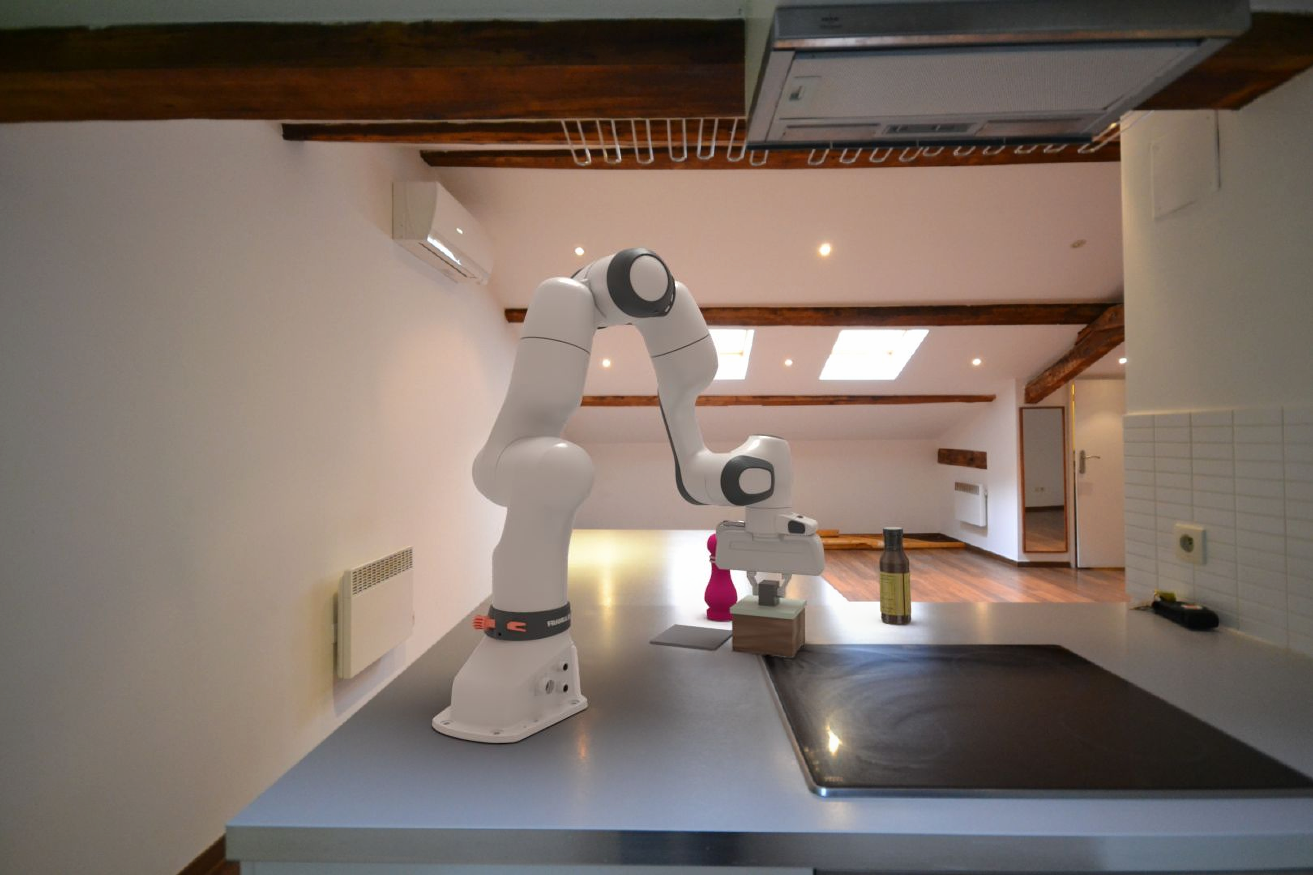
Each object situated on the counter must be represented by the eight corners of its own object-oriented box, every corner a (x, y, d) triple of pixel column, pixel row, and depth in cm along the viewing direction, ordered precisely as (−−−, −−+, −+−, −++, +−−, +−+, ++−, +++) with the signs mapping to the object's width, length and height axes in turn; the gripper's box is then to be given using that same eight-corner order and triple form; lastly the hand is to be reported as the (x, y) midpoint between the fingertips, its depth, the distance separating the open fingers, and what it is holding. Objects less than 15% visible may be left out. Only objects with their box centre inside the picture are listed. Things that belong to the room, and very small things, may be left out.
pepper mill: (699, 615, 155) (699, 524, 155) (729, 612, 157) (729, 523, 157) (711, 623, 148) (711, 528, 148) (743, 620, 150) (742, 526, 150)
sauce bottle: (900, 617, 152) (899, 525, 152) (917, 624, 146) (916, 528, 146) (873, 618, 151) (873, 526, 151) (889, 626, 145) (889, 529, 145)
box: (792, 658, 123) (792, 618, 124) (732, 651, 128) (732, 612, 128) (805, 642, 134) (804, 605, 134) (748, 635, 138) (748, 600, 138)
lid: (793, 624, 123) (793, 590, 123) (729, 618, 128) (729, 585, 128) (806, 610, 134) (806, 578, 134) (747, 604, 138) (747, 574, 138)
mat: (714, 651, 128) (714, 648, 128) (649, 643, 133) (649, 640, 133) (735, 633, 140) (735, 630, 140) (675, 626, 145) (675, 624, 145)
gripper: (710, 521, 132) (710, 594, 132) (820, 526, 124) (820, 604, 124) (720, 517, 138) (721, 588, 138) (826, 522, 130) (826, 597, 130)
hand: (769, 596), depth 131 cm, fingers closed on lid, 3 cm apart
